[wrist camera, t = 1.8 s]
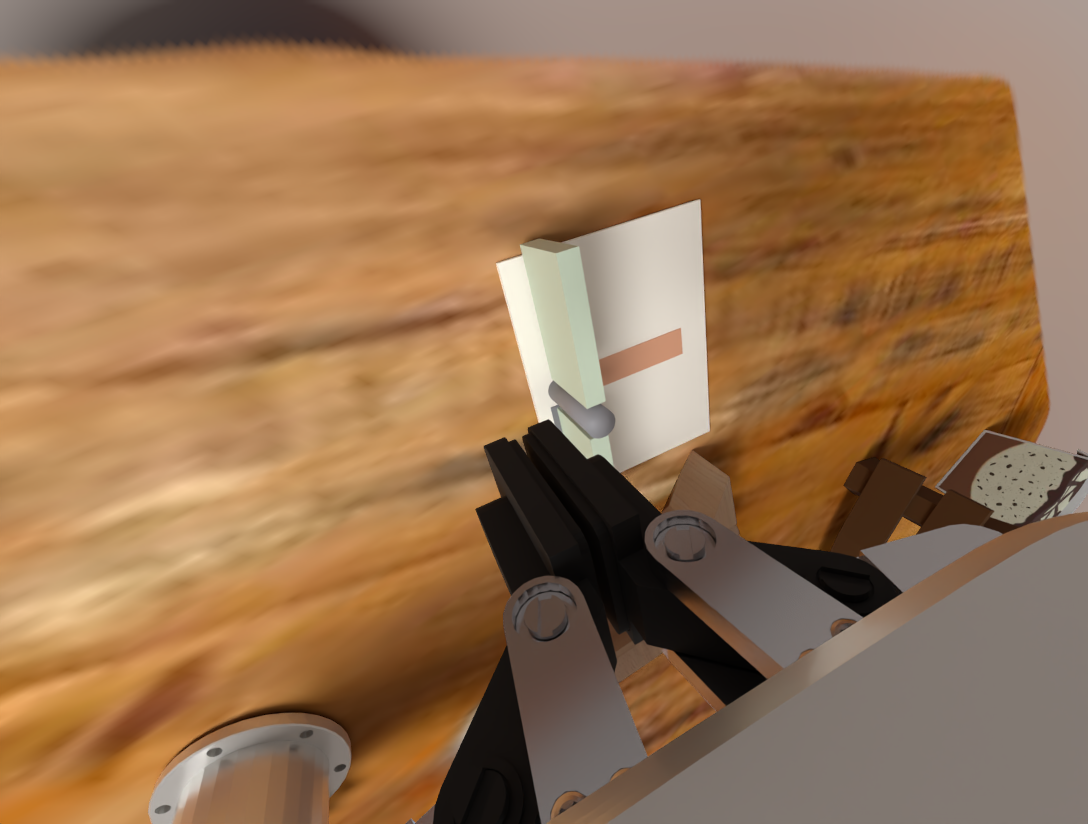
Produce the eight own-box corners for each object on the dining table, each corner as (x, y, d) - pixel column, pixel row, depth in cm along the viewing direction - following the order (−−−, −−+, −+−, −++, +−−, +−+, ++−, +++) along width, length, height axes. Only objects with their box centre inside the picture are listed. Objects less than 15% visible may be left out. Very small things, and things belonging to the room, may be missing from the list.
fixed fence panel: (593, 488, 35) (634, 536, 30) (573, 498, 35) (611, 548, 30) (568, 371, 30) (613, 405, 25) (544, 380, 30) (585, 417, 25)
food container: (939, 510, 62) (1032, 559, 54) (927, 495, 59) (1024, 545, 50) (1001, 439, 61) (1107, 477, 52) (992, 420, 57) (1104, 457, 49)
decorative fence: (855, 449, 48) (1037, 537, 35) (887, 447, 50) (1069, 528, 38) (753, 671, 60) (862, 796, 48) (783, 661, 63) (894, 777, 50)
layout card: (707, 429, 38) (710, 431, 37) (558, 498, 34) (561, 501, 34) (697, 199, 29) (701, 199, 28) (495, 262, 26) (497, 263, 25)
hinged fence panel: (568, 372, 29) (605, 401, 25) (551, 379, 29) (587, 408, 25) (539, 238, 25) (578, 245, 21) (519, 244, 25) (556, 253, 21)
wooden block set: (765, 601, 43) (606, 711, 40) (723, 561, 47) (578, 656, 45) (749, 475, 34) (543, 605, 31) (699, 441, 39) (516, 551, 36)
